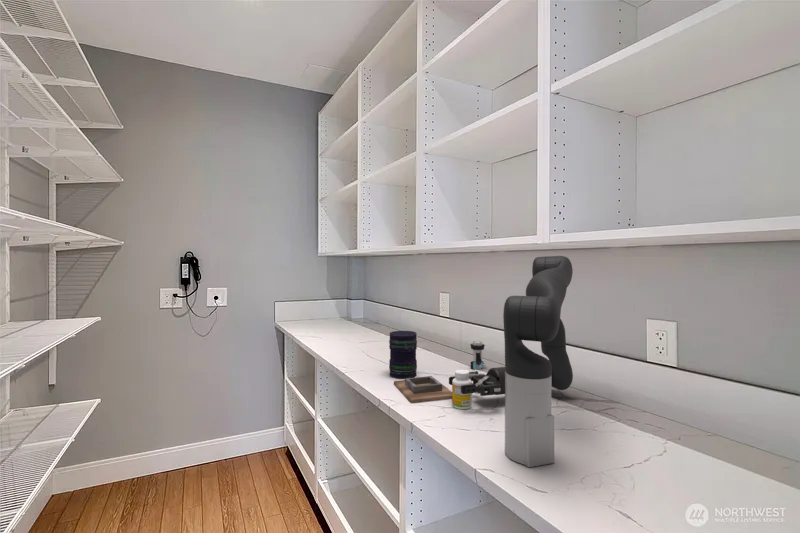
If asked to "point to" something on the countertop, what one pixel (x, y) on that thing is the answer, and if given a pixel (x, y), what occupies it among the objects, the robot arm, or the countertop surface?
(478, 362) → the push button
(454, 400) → the supplement bottle
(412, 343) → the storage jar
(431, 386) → the dock board
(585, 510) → the countertop surface
